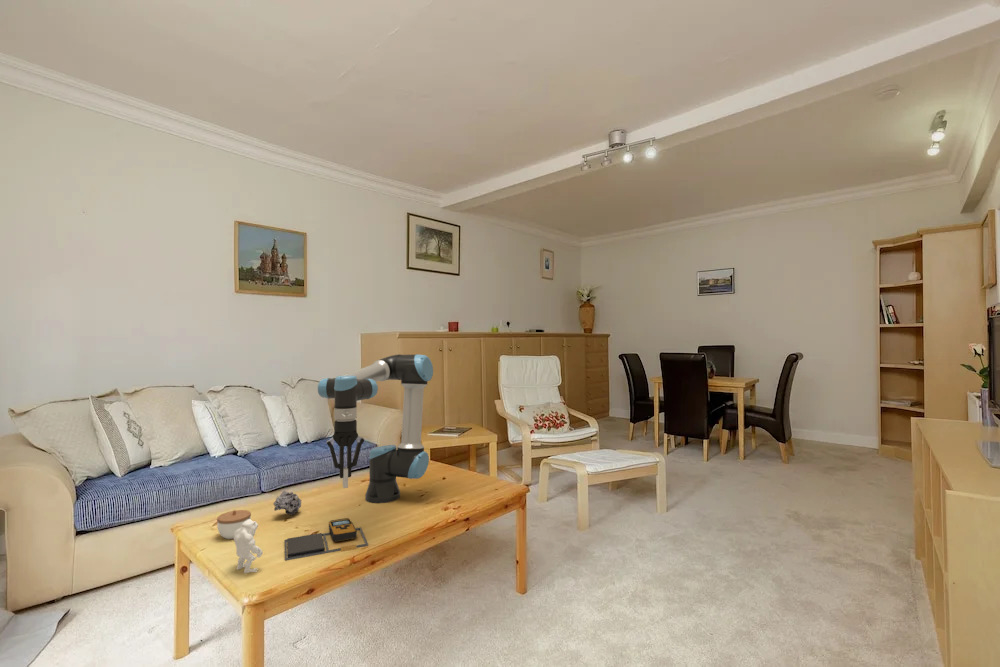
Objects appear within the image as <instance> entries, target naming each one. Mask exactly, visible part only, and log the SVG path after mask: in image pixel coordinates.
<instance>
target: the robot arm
mask: <svg viewBox="0 0 1000 667" xmlns="http://www.w3.org/2000/svg"><path fill="white" fill-rule="evenodd" d="M433 375H434V367H433V362H432V360H431V359H430V357H429V356H427V355H425V354H418V353H417V354H393V355H389V356H386V357H382V358H380V359H377V360H375V361H373V363H371V364H370V365H367V366H364V367H362V368H360V369H357V370H354V371H351V372H348V373H346V374H343V375H339V376H336V377H333V378H331V377H328V378H323V379H320V381H319V382H318V384H317V393H318V395H319V396H320V397H321V398H324V399H334V408H333V409H334V411H333V412H334V415H333V417H334V418H333V419H334V422H333V423H334V425H333V428H334V432H333V435H332V437H331V438H329V439H328V440H326V445H327V446H328V448H329V452H330V455H331V459H332V463H333V466H334V469H335V468H336V469H338V470H339V473H338V474H339V479H342V488H343V489H347V488H349V478H351V477H352V468H353V467H356V466H357V465H358V461H359V456H360V452H361V449H362V445H363V444H364V442H365V438H364V437H363V436H362V437H361V436H359V434H358V432H357V430H358V429H357V426H358V425H357V422H358V421H357V420H356V418H357V417H358V414H357V412H358V411H357V410H358V409H357V407H358V404H357V402H358V401H363V400H369V399H371V398H374V397H375V396H376V395H377V393H378V391H379V388H378V383H377V382H385V381H389V380H391V381H393V380H394V381H400V385H401V386H402V387H403V407H402V419H401V420H402V424H401V425H402V426H401V442H400V443H399V444H398V445H397V446H396V445H395V444H386V445H380V446H377V447H373V448H372V449H371V450H370V451H369V458H368V460H369V463H368V464H369V465H368V466H369V471H368V472H369V482H368V486H367V489H366V493H365V495H364V496H365V500H364V501H366V502H368V503H370V504H387V503H388V504H389V503H392V502H395V501H398V500H399V499H400V497H401V491H400V488H399V485H398V482H397V478H405V479H409V480H411V479H413V480H414V479H415V480H417V479H421V478H422V477H423V476H424V475H425V473H426V472H427V469H428V466H429V462H430V461H429V460H430V456H429V454H428V452H426V451H425V446H424V445H423V444H422V430H423V429H422V428H423V413H424V412H423V408H424V392H425V390H424V389H425V388H427V386H428V382H430V381H431V380H432V378H433ZM355 442H356V443H357V444H356V446H355V449H354V450H355V451H354V454H353V459H352V448H353V447H352V446H353V445H354V443H355ZM335 443H336V444H337V446H339V447H338V448H339V451H338V452H339V457H338V458H339V460H338V458H337V455H336V451H335V447H334V445H335ZM345 447H346V467H344V465H345V462H344V460H345V459H344V458H345ZM338 462H339V463H338Z"/></svg>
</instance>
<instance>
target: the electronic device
mask: <svg viewBox="0 0 1000 667" xmlns="http://www.w3.org/2000/svg"><path fill="white" fill-rule="evenodd" d="M355 528H356V527H355V525H354V523H353V522H352V520H351V519H350V518H349V517H346V518H345V517H344V518H339V519H332V520H329V521H328V530H329V532H330V534H331V535H330V537H331V538H332V541H333V542H335V543H336V542H340V541H348V540H354V539H356V538H357V535H358V534H357V532H358V530H357V531H356V529H355Z"/></svg>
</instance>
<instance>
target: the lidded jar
mask: <svg viewBox="0 0 1000 667" xmlns="http://www.w3.org/2000/svg"><path fill="white" fill-rule="evenodd" d="M251 516H252V512H251V511H250V510H246V509H245V510H244V509H239V510H238V509H237V510H235V509H234V510H231V511H227V512H224V513H221V514H220V515H218V516H217V518H216V522H217V531H218V533H219V535H220V537H222V538H224V539H226V540H234V532H235V531H236V530H237V529H239V528H241V527H242V523H243V522H245V521H247V520H248V519H251Z"/></svg>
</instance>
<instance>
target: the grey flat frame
mask: <svg viewBox="0 0 1000 667" xmlns="http://www.w3.org/2000/svg"><path fill="white" fill-rule="evenodd" d="M355 529H356V531H357V532H358V531H359V532H360V534H361V536H362V539H363V541H364V543H363V544H356V543H355V544H351V545H350V544H349V545H345V546H340V547H338V548H334V549H329V546H328V541H327V536H331V534H330V531H329V532H325V533H322V532H320V533H319V532H318V533H313V534H307V535H300V536H294V537H287V539H284V561H285V562H286V561H290V560H296V559H301V558H309V557H312V556H313V557H314V556H318V555H325V554H328V553H329V554H330V553H335V552H347V551H352V550H357V549H358V548H363V547H367V546H369V543H368V539H367V538H366V535H365V533H364V531H363V529H362V527H355Z"/></svg>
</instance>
